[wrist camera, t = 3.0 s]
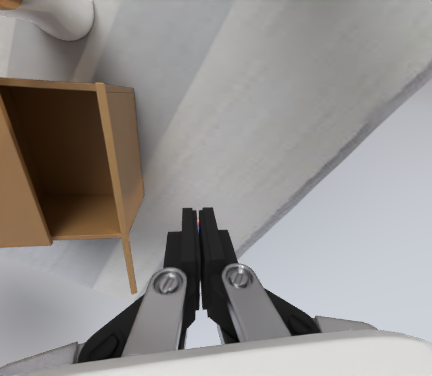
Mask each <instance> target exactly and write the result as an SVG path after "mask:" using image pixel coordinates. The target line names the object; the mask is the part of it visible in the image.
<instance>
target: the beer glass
mask: <svg viewBox="0 0 432 376" xmlns="http://www.w3.org/2000/svg"><path fill="white" fill-rule="evenodd" d="M0 16H5V17H10V18H16V19H22V20H27V21H31V22H34V23H35V24H36V25H37V26H39V27H40V28H41V29H42V30H44V31H45V32H47V33H48V34H50V35H52V36H53V37H56V38H58V39H61V40H66V41H74V40H78V39H81V38H82V37H84V36H85V35H86V34H87V33H88V32H89V31H90V29H91V27H92V24H93V19H94V7H93V2H92V0H0Z"/></svg>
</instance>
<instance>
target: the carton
mask: <svg viewBox="0 0 432 376" xmlns="http://www.w3.org/2000/svg"><path fill="white" fill-rule="evenodd" d="M105 87H106V94H107V100H108V107H109V113H110V120H111V126H112V133H113V139H114V145H115V152H116V158H117V165H118V171H119V178H120V184H121V191H122V197H123V204H124V210H125V217H126V223H127V230H128V234H129V231H130V229H131V227H132V224H133V222H134V219H135V217H136V215H137V212H138V210H139V207H140V205H141V203H142V200H143V198H144V186H143V177H142V167H141V157H140V147H139V138H138V128H137V118H136V108H135V99H134V89H133V88H129V87H120V86H112V85H105ZM104 238H122V237H121V231H120V225H119V220H118V214H117V208H116V202H115V196H114V191H113V185H112V179H111V173H110V167H109V162H108V156H107V150H106V144H105V139H104V133H103V127H102V121H101V115H100V110H99V104H98V98H97V92H96V87H95V84H90V83H75V82H60V81H45V80H30V79H15V78H1V77H0V248H2V247H27V246H51V245H52V244H53V241H52V240H77V239H104Z"/></svg>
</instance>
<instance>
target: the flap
mask: <svg viewBox="0 0 432 376" xmlns="http://www.w3.org/2000/svg"><path fill="white" fill-rule="evenodd" d="M95 87H96V92H97V98H98V104H99V110H100V115H101V121H102V127H103V133H104V139H105V144H106V150H107V156H108V162H109V167H110V173H111V179H112V185H113V191H114V196H115V202H116V208H117V214H118V220H119V225H120V231H121V237H122V243H123V248H124V254H125V260H126V266H127V272H128V277H129V283H130V289H131V294H135V293H137V288H136V281H135V275H134V268H133V262H132V255H131V249H130V243H129V236H128V230H127V223H126V217H125V210H124V204H123V197H122V191H121V184H120V178H119V171H118V165H117V158H116V152H115V145H114V139H113V133H112V126H111V120H110V113H109V107H108V100H107V94H106V87H105V83H99V82H95Z"/></svg>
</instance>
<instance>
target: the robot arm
mask: <svg viewBox="0 0 432 376" xmlns="http://www.w3.org/2000/svg"><path fill="white" fill-rule="evenodd" d="M200 283H201V295H202V307H203V310H204V309H207V313H208V317H210V318H211V319H212V320H213V321H214V322H216V323H217V328H218V333H219V337H220V340H221V344H222V345H216V346H208V347H200V348H192V349H185V345H186V338H187V328H188V327H189V326H190V325H191V324H192V323H193V322H194V320H195V310H199V299H200ZM0 376H432V343H431V342H428V341H425V340H423V339H419V338H416V337H413V336H409V335H405V334H402V333H396V332H390V331H384V330H378V329H377V328H375V327H373V326H372V325H370V324H367V323H364V322H358V321H351V320H343V319H336V318H329V317H322V316H315V318H311V317H310V316H309V315H307V314H306V313H305V312H303V311H301V310H300V309H298V308H296V307H295V306H293V305H291V304H290V303H288V302H286V301H285V300H283V299H281V298H280V297H278V296H276V295H275V294H273V293H271V292H270V291H268V290H266V289H265V288H263V286H262V284H261V283H260V281H259V279H258V278H257V276H256V274H255V273H254V271H253V270H252V269H251V268H249V267H248V266H246V265H243V264H239V263H238V261H237V258H236V255H235V252H234V248H233V245H232V242H231V239H230V236H229V233H228V230H218V228H217V223H216V219H215V215H214V211H213V208H212V207H211V208H203V210H199V232H198V224H197V213H196V210H192V208H183V213H182V231H180V232H168V236H167V243H166V251H165V259H164V266H163V269H161V270H159V271H158V272H156V273H155V274H154V275H153V276H152V278H151V280H150V282H149V284H148V287H147V290H146V292H145V294H144V295H143V296H141V297H140V298H139V299H138V300H136V301H135V302H134V303H133V304H131V305H130V306H129V307H128V308H126V309H125V310H124V311H123V312H121V313H120V314H119V315H118V316H116V317H115V318H114V319H112V320H111V321H110V322H109V323H107V324H106V325H105V326H104V327H102V328H101V329H100V330H99V331H97V332H96V333H95V334H94V335H93V336H92V337H91V338H90V339H88V340H87V342H85V343H82V344H78V342H75V343H71V344H68V345H65V346H62V347H59V348H56V349H53V350H50V351H47V352H44V353H41V354H38V355H34V356H31V357H28V358H25V359H22V360H19V361H16V362H13V363H10V364H7V365H5V366H3V367H1V368H0Z"/></svg>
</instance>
